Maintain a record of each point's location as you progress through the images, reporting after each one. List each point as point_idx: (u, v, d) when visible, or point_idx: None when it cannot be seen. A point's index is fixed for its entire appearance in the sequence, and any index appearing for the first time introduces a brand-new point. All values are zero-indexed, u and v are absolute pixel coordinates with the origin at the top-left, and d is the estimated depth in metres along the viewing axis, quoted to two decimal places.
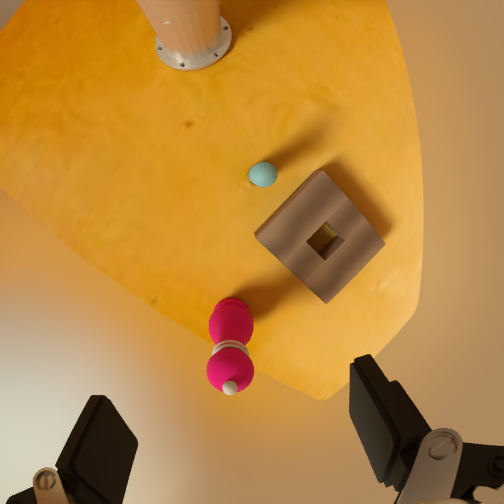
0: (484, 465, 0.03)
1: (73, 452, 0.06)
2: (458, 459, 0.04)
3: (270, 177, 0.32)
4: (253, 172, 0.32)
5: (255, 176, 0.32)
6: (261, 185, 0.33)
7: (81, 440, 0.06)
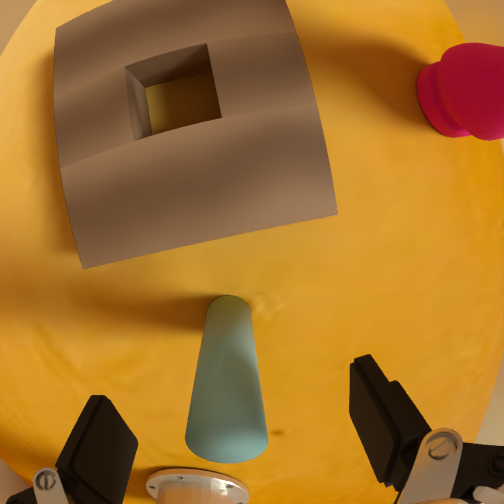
0: (484, 465, 0.03)
1: (72, 452, 0.06)
2: (458, 459, 0.04)
3: (212, 431, 0.08)
4: (251, 455, 0.09)
5: (253, 447, 0.09)
6: (254, 428, 0.08)
7: (81, 440, 0.06)
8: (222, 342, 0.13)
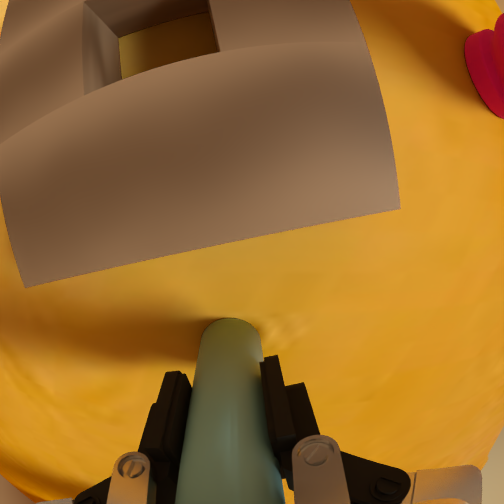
0: (365, 483, 0.05)
1: (163, 430, 0.07)
2: (340, 458, 0.05)
3: None
4: None
5: None
6: None
7: (168, 416, 0.07)
8: (221, 410, 0.08)
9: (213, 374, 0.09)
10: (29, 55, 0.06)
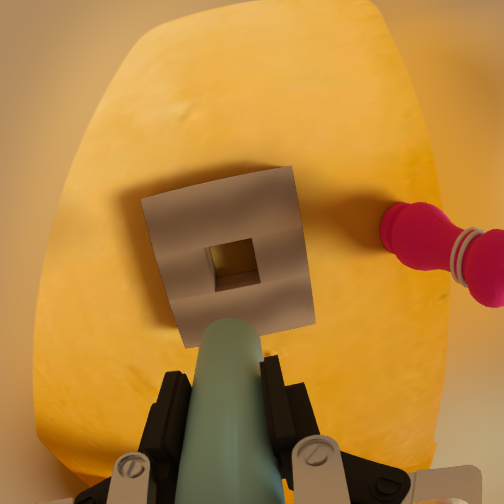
0: (365, 483, 0.05)
1: (162, 430, 0.07)
2: (341, 458, 0.05)
3: None
4: None
5: None
6: None
7: (168, 416, 0.07)
8: (221, 410, 0.08)
9: (213, 374, 0.09)
10: (181, 267, 0.26)
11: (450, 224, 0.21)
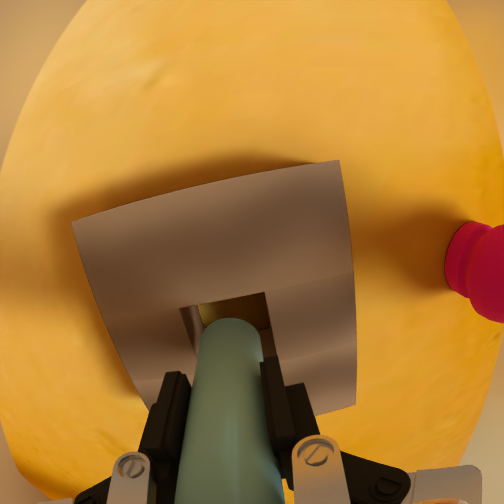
0: (365, 483, 0.05)
1: (163, 430, 0.07)
2: (340, 459, 0.05)
3: None
4: None
5: None
6: None
7: (168, 416, 0.07)
8: (220, 410, 0.08)
9: (213, 374, 0.09)
10: (144, 336, 0.15)
11: None
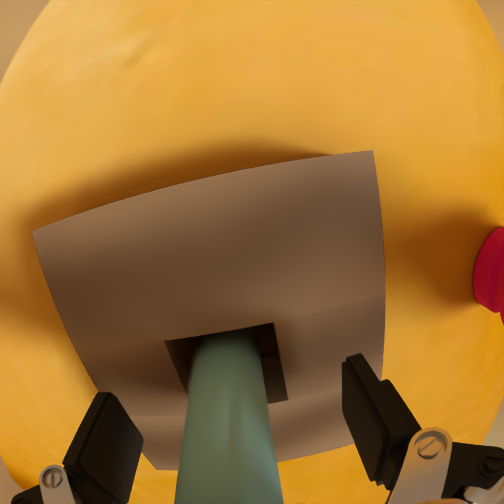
0: (474, 465, 0.04)
1: (80, 449, 0.06)
2: (448, 457, 0.04)
3: None
4: None
5: None
6: None
7: (88, 437, 0.06)
8: (220, 381, 0.09)
9: (213, 352, 0.11)
10: (124, 370, 0.11)
11: None
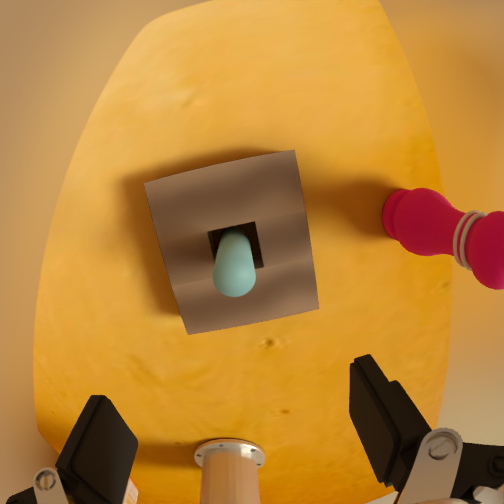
0: (484, 465, 0.03)
1: (73, 453, 0.06)
2: (458, 459, 0.04)
3: (227, 267, 0.20)
4: (247, 289, 0.20)
5: (248, 281, 0.20)
6: (248, 265, 0.20)
7: (81, 440, 0.06)
8: (231, 239, 0.24)
9: (228, 235, 0.26)
10: (184, 251, 0.26)
11: (452, 208, 0.21)
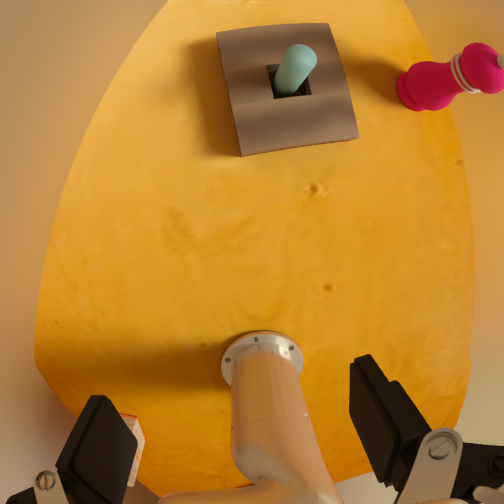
0: (484, 465, 0.03)
1: (73, 453, 0.06)
2: (458, 459, 0.04)
3: (296, 50, 0.21)
4: (311, 66, 0.21)
5: (311, 61, 0.21)
6: (311, 50, 0.21)
7: (81, 440, 0.06)
8: None
9: None
10: (246, 77, 0.27)
11: None
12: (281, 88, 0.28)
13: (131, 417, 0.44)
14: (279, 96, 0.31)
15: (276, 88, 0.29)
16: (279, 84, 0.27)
